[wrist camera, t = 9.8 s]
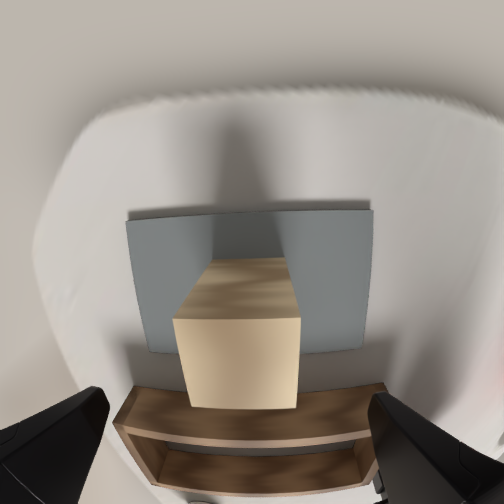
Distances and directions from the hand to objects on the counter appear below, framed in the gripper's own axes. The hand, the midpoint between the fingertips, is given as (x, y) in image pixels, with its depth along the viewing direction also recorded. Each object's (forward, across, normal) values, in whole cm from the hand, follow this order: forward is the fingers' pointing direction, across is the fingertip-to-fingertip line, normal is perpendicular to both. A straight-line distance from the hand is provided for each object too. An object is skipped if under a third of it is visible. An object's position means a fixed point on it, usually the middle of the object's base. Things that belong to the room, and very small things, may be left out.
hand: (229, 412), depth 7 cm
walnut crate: (+11, 0, +15) cm, 19 cm away
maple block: (+10, 0, 0) cm, 10 cm away
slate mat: (+11, 0, 0) cm, 11 cm away
